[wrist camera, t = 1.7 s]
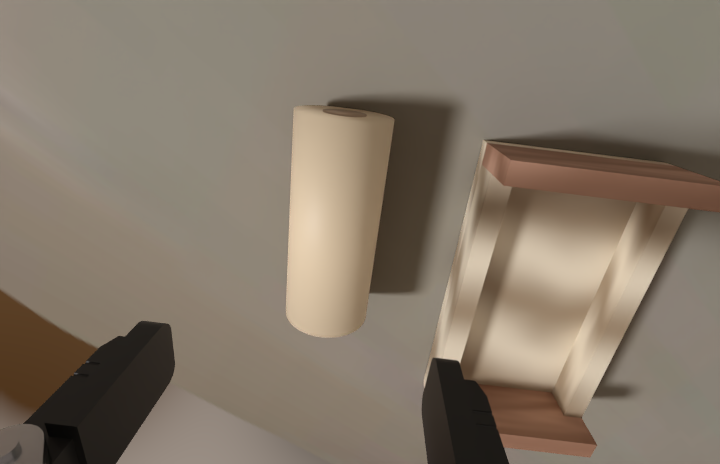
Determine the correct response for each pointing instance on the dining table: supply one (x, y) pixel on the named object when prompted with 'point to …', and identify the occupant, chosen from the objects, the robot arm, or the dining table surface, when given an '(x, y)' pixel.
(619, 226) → the roll holder
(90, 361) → the robot arm
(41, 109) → the dining table surface
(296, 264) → the paper roll
